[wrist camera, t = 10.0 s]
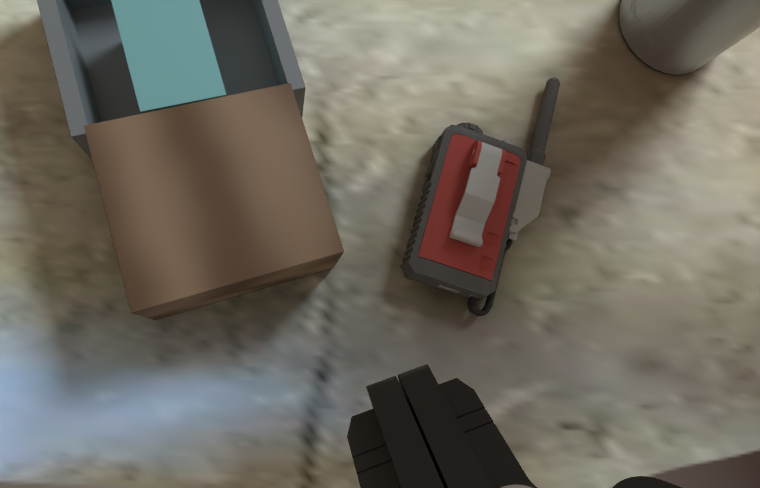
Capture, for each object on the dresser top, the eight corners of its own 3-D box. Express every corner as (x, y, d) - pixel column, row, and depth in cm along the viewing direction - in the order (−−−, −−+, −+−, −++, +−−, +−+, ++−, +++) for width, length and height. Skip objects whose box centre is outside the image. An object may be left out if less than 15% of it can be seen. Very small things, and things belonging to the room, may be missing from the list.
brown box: (288, 123, 39) (290, 82, 34) (333, 267, 38) (343, 251, 32) (114, 162, 37) (83, 125, 31) (155, 319, 35) (131, 312, 29)
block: (232, 128, 38) (203, 25, 39) (226, 94, 33) (193, -22, 34) (158, 144, 37) (130, 37, 38) (140, 111, 32) (108, -10, 33)
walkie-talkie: (503, 327, 40) (558, 91, 45) (530, 323, 35) (587, 63, 40) (390, 290, 39) (458, 53, 44) (403, 282, 34) (478, 20, 39)
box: (256, -25, 41) (253, -75, 36) (301, 120, 40) (305, 87, 35) (57, 6, 38) (25, -44, 33) (98, 165, 36) (71, 136, 32)
